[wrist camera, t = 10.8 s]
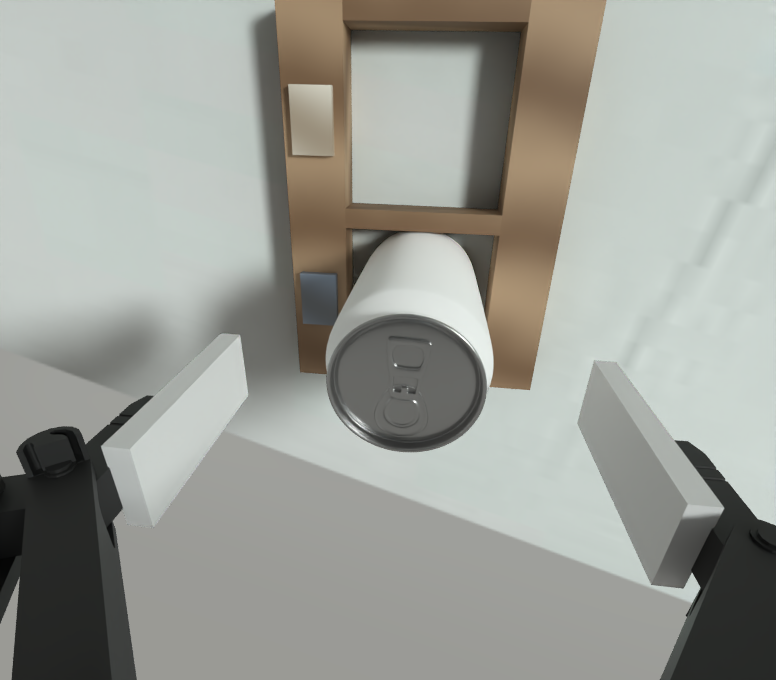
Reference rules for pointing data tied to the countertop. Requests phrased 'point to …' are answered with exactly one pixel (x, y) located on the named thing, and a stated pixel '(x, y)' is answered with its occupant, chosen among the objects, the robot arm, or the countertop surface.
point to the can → (411, 346)
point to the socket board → (507, 223)
